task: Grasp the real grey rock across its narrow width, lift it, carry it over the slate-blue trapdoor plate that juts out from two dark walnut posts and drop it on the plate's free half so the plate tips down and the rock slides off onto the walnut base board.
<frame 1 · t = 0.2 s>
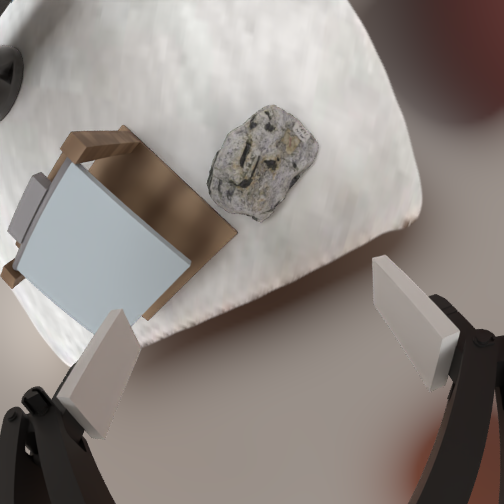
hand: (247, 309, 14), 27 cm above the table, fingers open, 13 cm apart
rock: (259, 163, 38), on the table
trapdoor: (79, 256, 28), point 13 cm above the table, hinge at -4.9°
frame: (133, 230, 41), on the table
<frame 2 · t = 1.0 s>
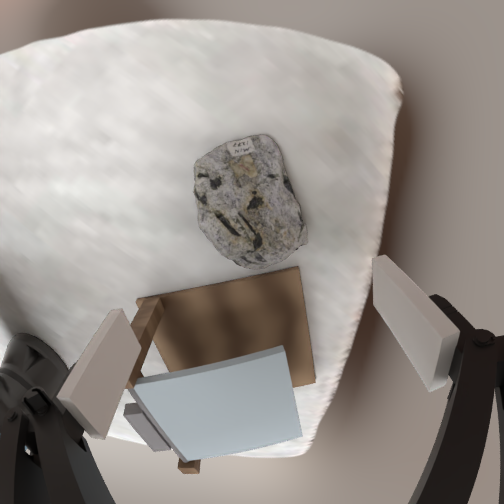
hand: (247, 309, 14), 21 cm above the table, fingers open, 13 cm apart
rock: (250, 202, 35), on the table
trapdoor: (213, 418, 29), point 13 cm above the table, hinge at -7.7°
frame: (233, 346, 42), on the table
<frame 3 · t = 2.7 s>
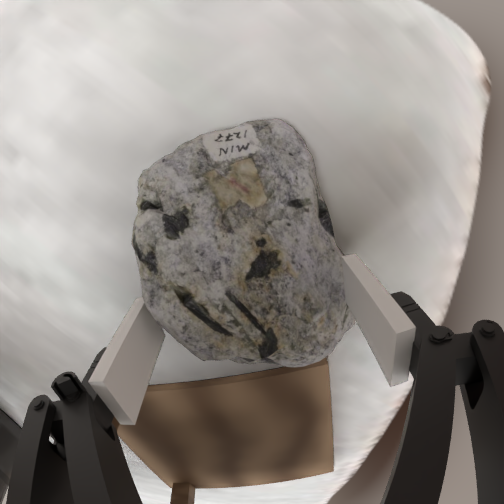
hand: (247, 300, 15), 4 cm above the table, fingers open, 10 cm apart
rock: (251, 246, 19), on the table, touching gripper
frame: (226, 445, 26), on the table
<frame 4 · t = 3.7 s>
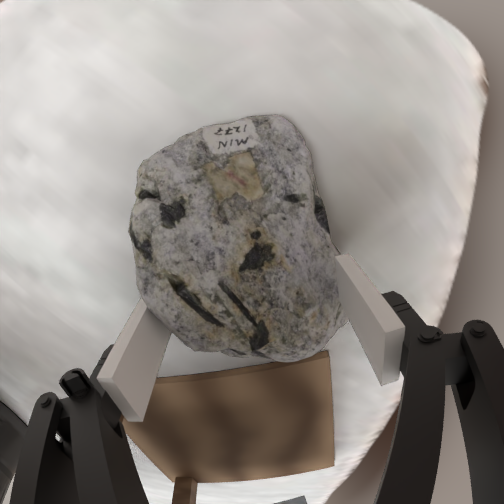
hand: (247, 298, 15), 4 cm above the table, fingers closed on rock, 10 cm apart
rock: (247, 240, 19), on the table, touching gripper
frame: (228, 438, 27), on the table
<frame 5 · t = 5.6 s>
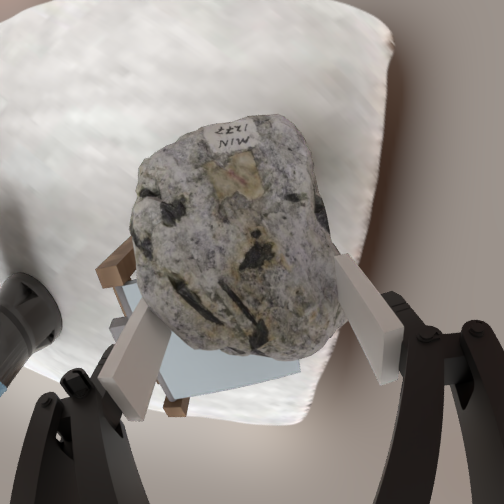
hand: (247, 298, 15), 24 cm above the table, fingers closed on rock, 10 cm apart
rock: (248, 239, 19), point 19 cm above the table, touching gripper
trapdoor: (205, 337, 30), point 13 cm above the table, hinge at -8.6°
frame: (230, 279, 42), on the table
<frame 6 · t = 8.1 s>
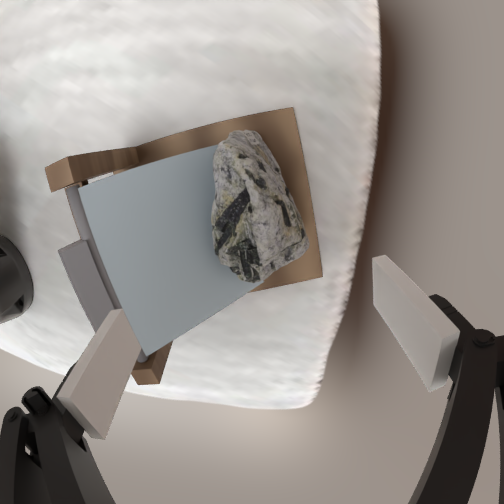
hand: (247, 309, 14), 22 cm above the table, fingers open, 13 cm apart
rock: (235, 207, 30), point 5 cm above the table, touching trapdoor
trapdoor: (170, 250, 26), point 10 cm above the table, hinge at -42.3°, touching rock
frame: (217, 214, 35), on the table
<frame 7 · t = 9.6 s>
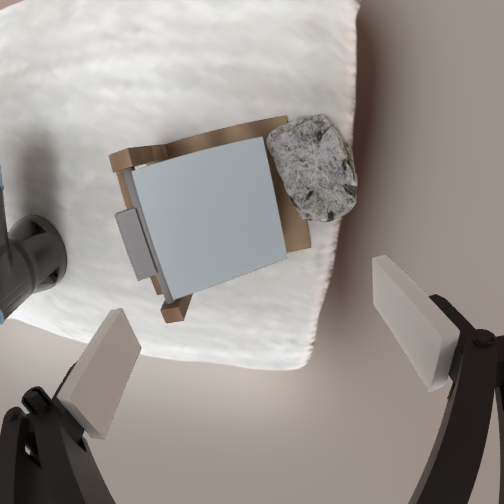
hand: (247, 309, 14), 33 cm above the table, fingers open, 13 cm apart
rock: (312, 170, 37), point 6 cm above the table, touching frame
trapdoor: (202, 221, 34), point 12 cm above the table, hinge at -20.9°
frame: (228, 197, 45), on the table
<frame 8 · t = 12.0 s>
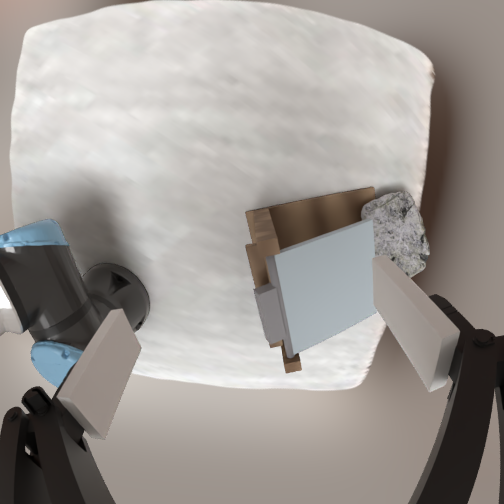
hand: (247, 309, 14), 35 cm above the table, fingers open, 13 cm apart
rock: (398, 242, 43), point 6 cm above the table, touching frame
trapdoor: (323, 292, 40), point 12 cm above the table, hinge at -19.4°
frame: (320, 256, 51), on the table
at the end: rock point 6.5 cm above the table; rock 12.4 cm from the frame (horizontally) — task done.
